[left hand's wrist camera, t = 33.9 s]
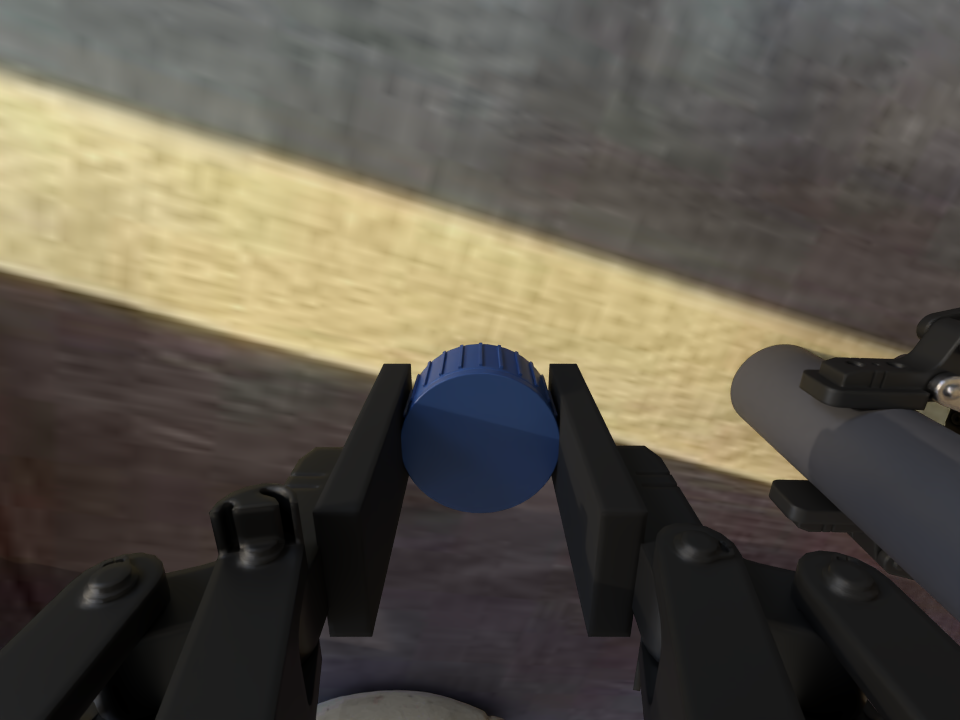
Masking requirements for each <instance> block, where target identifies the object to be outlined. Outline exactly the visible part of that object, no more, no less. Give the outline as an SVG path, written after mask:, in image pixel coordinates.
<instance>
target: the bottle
mask: <svg viewBox="0 0 960 720" xmlns="http://www.w3.org/2000/svg"><path fill="white" fill-rule="evenodd" d="M822 361H825V360H823V359H822V358H820V357H818V356H816V355H814V354H813V353H811V352H809V351H807V350H805V349H803V348H801V347H798V346H795V345H784V344H783V345H775V346H771V347H768V348H765V349H763V350H760V351H758V352H757V353H755V354H754V355H752V356H751V357H750V358H748V359H747V360H746V361H745V362H744V363H743V364H742V366H741V367H740V368H739V370H738V371H737V373H736V375H735V377H734V379H733V382H732V386H731V400H732V404H733V407H734V409H735V410H736V412H737V413H738V414H739V415H740V417H742V418H743V419H744V420H745V421H746V422H747V423H748V424H749V425H750V426H751V427H752V428H753V429H754V430H755V431H756V432H758V433H759V434H760V435H761V436H762V437H763V438H764V439H765V440H766V441H767V442H768V443H769V444H770V445H771V446H772V447H774V448H775V449H776V450H777V451H778V452H779V453H780V454H781V455H782V456H783V457H784V458H785V459H786V460H787V461H788V462H790V463H791V464H792V465H793V466H794V467H795V468H796V469H797V470H798V471H799V472H800V473H801V474H802V475H803V476H804V477H806V478H807V479H808V480H809V481H810V482H811V483H812V484H813V485H814V486H815V487H816V488H817V489H818V490H819V491H820V492H821V493H823V494H824V495H825V496H826V497H827V498H828V499H829V500H830V501H831V502H832V503H833V504H834V505H835V506H836V507H837V508H839V509H840V510H841V511H842V512H843V513H844V514H845V515H846V516H847V517H848V518H849V519H850V520H851V521H852V522H853V523H855V524H856V525H857V526H858V527H859V528H860V529H861V530H862V531H863V532H864V533H865V534H866V535H867V536H868V537H869V538H871V539H872V540H873V541H874V542H875V543H876V544H877V545H878V546H879V547H880V548H881V549H882V550H883V551H884V552H885V553H887V554H888V555H889V556H890V557H891V558H892V559H893V560H894V561H895V562H896V563H897V564H898V565H899V566H900V567H901V568H903V569H904V570H905V571H906V572H907V573H908V574H909V575H910V576H911V577H912V578H913V579H914V580H915V581H916V582H917V583H918V584H920V585H921V586H922V587H923V588H924V589H925V590H926V591H927V592H928V593H929V594H930V595H931V596H932V597H933V598H934V599H936V600H937V601H938V602H939V603H940V604H941V605H942V606H943V607H944V608H945V609H946V610H947V611H948V612H949V613H950V614H952V615H953V616H954V617H955V618H956V619H957V620H958V621H959V622H960V435H959V434H957V433H955V432H954V431H952V430H950V429H948V428H946V427H944V426H943V425H941V424H939V423H937V422H935V421H934V420H932V419H930V418H928V417H926V416H925V415H923V414H921V413H919V412H917V411H916V410H906V409H867V408H838V407H832V406H828V405H826V404H823V403H821V402H820V401H818V400H817V399H815V398H814V397H812V396H811V395H809V394H808V393H806V392H805V391H803V390H802V389H801V388H800V387H799V385H800V382H801V378H802V375H803V371H804V370H807V369H815V370H820V367H821V363H822Z"/></svg>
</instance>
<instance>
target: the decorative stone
mask: <svg viewBox="0 0 960 720" xmlns="http://www.w3.org/2000/svg"><path fill="white" fill-rule="evenodd" d="M316 720H504V719H502V718H499V717H496V716H487V714H486V713H485V711H483V710H481V709H478V708H476V707H473V706H471V705H469V704H466V703H463V702H460V701H457V700H455V699H452V698H448V697H445V696H441V695H437V694H433V693H427V692H419V691H408V690H386V691H373V692H364V693H357V694H352V695H347V696H341V697H337V698H333V699H330V700H328V701H325V702H322V703H319V704H318V705H317V715H316Z"/></svg>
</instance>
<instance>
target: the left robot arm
mask: <svg viewBox="0 0 960 720" xmlns="http://www.w3.org/2000/svg"><path fill="white" fill-rule="evenodd" d="M411 389H412V379H411V364H384V365H383V367H382V369H381V371H380V373H379V375H378V377H377V379H376V381H375V383H374V385H373V387H372V389H371V391H370V394H369V396H368V398H367V400H366V402H365V404H364V406H363V408H362V410H361V412H360V414H359V416H358V418H357V420H356V423H355V425H354V427H353V429H352V431H351V433H350V435H349V437H348V439H347V441H346V443H345V445H344V447H316V448H314V449H313V450H312V451H310V452H309V453H308V454H306V455H305V456H304V457H302V458H301V459H300V460H299V461H298V463H297V465H296V466H295V468H294V469H293V471H292V473H291V476H289V478H288V479H287V481H286V483H285V484H284V485H281V484H258V485H254V486H249V487H245V488H242V489H240V490H238V491H235V492H233V493H230V494H229V495H227V496H226V497H225V498H223V499H222V500H220V501H219V502H217V503H216V505H215V506H214V507H213V509H212V510H211V511H210V512H209V514H210V519H211V523H212V527H213V532H214V536H215V540H216V545H217V549H218V553H219V556H218V559H217V561H215V562H211V563H208V564H204V565H201V566H197V567H192V568H188V569H183V570H179V571H174V572H170V573H166V574H165V570H164V567H163V563H162V562H161V561H160V560H159V559H158V558H157V557H156V556H155V555H150V554H145V553H134V554H124V555H121V556H118V557H115V558H111V559H108V560H105V561H103V562H101V563H99V564H97V565H95V566H93V567H92V568H90V569H88V570H86V571H85V572H83V573H82V574H81V575H79V576H78V577H77V578H76V579H74V580H73V581H72V582H70V583H69V584H68V585H67V586H66V587H65V588H64V589H63V590H62V591H61V592H60V593H59V594H58V595H57V596H56V597H55V598H54V599H53V600H52V601H51V602H50V603H49V604H48V605H47V606H45V607H44V608H43V609H42V610H41V611H40V612H39V613H38V614H37V615H36V616H35V617H34V618H33V619H32V620H31V621H30V622H29V623H28V624H27V625H26V626H25V627H24V628H23V629H22V630H21V631H20V632H19V633H18V634H16V635H15V636H14V637H13V638H12V639H11V640H10V641H9V642H8V643H7V644H6V645H5V646H4V647H3V648H2V649H1V650H0V720H316V715H317V705H318V694H319V684H320V674H321V664H322V655H321V648H320V642H319V637H320V634H321V631H322V628H323V626H324V623H325V620H326V617H327V618H328V625H329V632H330V637H372V634H373V630H374V626H375V621H376V617H377V613H378V608H379V604H380V599H381V595H382V591H383V586H384V582H385V578H386V573H387V569H388V564H389V560H390V556H391V551H392V547H393V543H394V538H395V534H396V529H397V525H398V521H399V516H400V512H401V508H402V503H403V499H404V494H405V490H406V486H407V481H408V477H409V474H408V472H407V470H406V468H405V466H404V463H403V459H402V445H401V429H402V426H403V422H404V419H405V418H403V413H404V410H405V407H406V403H407V400H408V397H409V394H410V390H411ZM548 390H550V392H551V395H552V399H553V402H554V405H555V408H556V411H557V415H558V418H556V420H557V423H558V426H559V433H560V434H559V450H558V462H557V465H556V467H555V469H554V471H553V473H552V475H551V476H552V480H553V484H554V489H555V493H556V497H557V502H558V506H559V510H560V515H561V519H562V524H563V528H564V532H565V537H566V541H567V545H568V550H569V554H570V559H571V563H572V567H573V572H574V576H575V580H576V585H577V589H578V594H579V598H580V602H581V607H582V611H583V615H584V620H585V624H586V629H587V633H588V637H630V635H631V628H632V621H633V614H634V616H635V619H636V622H637V625H638V628H639V631H640V634H641V642H640V648H639V655H638V661H637V668H636V674H635V681H634V688H633V690H637V691H640V687H641V693H642V703H643V714H644V720H960V646H959V645H958V644H957V643H956V642H955V641H954V640H953V639H952V638H951V637H950V636H949V635H948V634H946V633H945V632H944V631H943V630H942V629H941V628H940V627H939V626H938V625H937V624H936V623H935V622H934V621H933V620H932V619H931V618H930V617H929V616H928V615H927V614H926V613H925V612H924V611H922V610H921V609H920V608H919V607H918V606H917V605H916V604H915V603H914V602H913V601H912V600H911V599H910V598H909V597H908V596H907V595H906V594H905V593H904V592H903V591H902V590H901V589H900V588H898V587H897V586H896V585H895V584H894V583H893V582H892V581H891V580H890V579H889V578H887V577H886V576H885V575H883V574H882V573H881V572H879V571H878V570H877V569H876V568H874V567H872V566H870V565H868V564H866V563H864V562H862V561H860V560H858V559H856V558H853V557H850V556H847V555H844V554H840V553H837V552H828V551H815V552H810V553H806V554H805V555H804V556H803V557H802V558H801V559H799V561H798V565H797V568H796V572H795V571H791V570H787V569H782V568H778V567H773V566H769V565H764V564H760V563H756V562H753V561H750V560H746V559H744V558H742V555H741V554H740V552H739V551H738V549H737V548H736V546H735V545H734V543H733V542H731V541H730V540H729V539H727V538H726V537H725V536H724V535H722V534H721V533H719V532H717V531H715V530H712V529H710V528H708V527H706V526H703V525H702V524H701V522H700V520H699V519H698V517H697V516H696V514H695V512H694V511H693V509H692V507H691V506H690V504H689V503H688V501H687V499H686V498H685V496H684V494H683V493H682V491H681V490H680V488H679V487H677V483H676V481H675V480H674V478H673V477H672V475H670V472H669V470H668V468H667V467H666V465H665V464H664V462H663V460H662V459H661V458H660V457H659V456H658V455H656V454H655V453H654V452H652V451H651V450H650V449H648V448H647V447H646V446H616V445H615V443H614V440H613V438H612V436H611V434H610V432H609V430H608V428H607V426H606V424H605V422H604V420H603V418H602V416H601V414H600V411H599V409H598V407H597V405H596V403H595V401H594V399H593V397H592V395H591V393H590V391H589V389H588V387H587V385H586V382H585V380H584V378H583V376H582V374H581V372H580V370H579V368H578V366H577V364H550V367H549V386H548ZM868 699H869V700H868ZM869 701H870V702H871V703H872V704H871V703H870V702H869ZM872 705H873V706H874V707H875V708H874V707H873V706H872ZM876 710H877V711H878V712H877V711H876Z"/></svg>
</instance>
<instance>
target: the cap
mask: <svg viewBox="0 0 960 720" xmlns="http://www.w3.org/2000/svg"><path fill="white" fill-rule="evenodd" d="M403 418H405V419H404V422H403V426H402V429H401V445H402V459H403V463H404V466H405V468H406V470H407V472H408V474H409V476H410V477H411V479H412V480H413V482H414V483H415V484H416V485H417V486H418V487H419V489H420V490H421V491H423V492H424V493H425V494H426V495H427V496H429V497H430V498H432V499H433V500H435V501H436V502H438V503H440V504H442V505H444V506H447V507H449V508H452V509H455V510H459V511H463V512H471V513H490V512H497V511H502V510H505V509H508V508H512V507H514V506H516V505H519V504H521V503H522V502H524V501H526V500H528V499H529V498H531V497H532V496H533V495H535V494H536V493H537V492H538V491H539V490H540V489H541V488H542V487H543V486H544V485H545V484H546V482H547V481H548V480H549V478H550V477H551V475H552V473H553V471H554V469H555V467H556V465H557V462H558V450H559V434H560V433H559V426H558V423H557V420H556V418H558V415H557V411H556V408H555V405H554V402H553V399H552V395H551V392H550V390H548V389H547V386H546V382H545V379H544V376H543V375H540V374H539V372H538V371H537V370H536V368H535V367H534V366H533V363H532V362H529V361H527V360H526V359H525V358H523V357H522V356H520V355H519V354H518V352H517V351H515V352H513V351H511V350H508V349H506V348H503V347H501V345H498V346H495V345H488V344H482V343H479V344H473V345H466V346H463V345H460V347H458V348H455V349H452V350H450V351H448V352H446V351H444V352H443V354H442V355H440V356H439V357H437V358H436V359H434V360H433V361H432V362H431V361H429V362H428V365H427V367H426V368H425V369H424V370H423V372H422V373H421V374H420V375H419V374H418V375H417V378H416V381H415V385H414V388H413V390H412V389H411V390H410V394H409V397H408V400H407V403H406V407H405V410H404V413H403Z"/></svg>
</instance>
